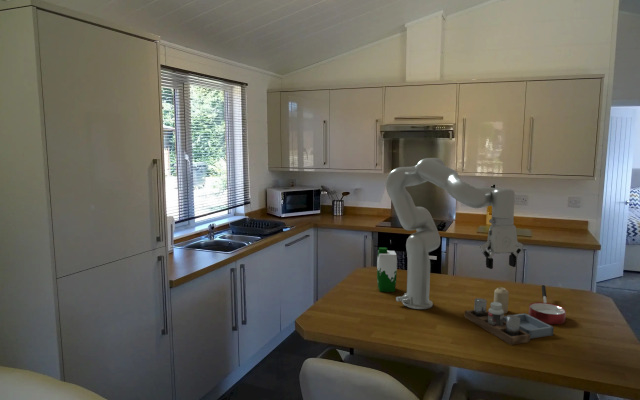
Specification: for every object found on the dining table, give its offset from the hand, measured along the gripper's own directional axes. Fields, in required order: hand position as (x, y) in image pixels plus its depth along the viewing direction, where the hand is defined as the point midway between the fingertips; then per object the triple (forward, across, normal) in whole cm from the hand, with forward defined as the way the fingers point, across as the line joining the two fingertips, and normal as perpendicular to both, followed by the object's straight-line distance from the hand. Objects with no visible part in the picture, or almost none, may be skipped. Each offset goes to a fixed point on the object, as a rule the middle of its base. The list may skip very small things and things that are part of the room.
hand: (500, 267), depth 168 cm
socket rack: (+23, -2, -1) cm, 23 cm away
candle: (+23, +10, +14) cm, 29 cm away
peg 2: (+23, -2, -10) cm, 26 cm away
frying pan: (+24, +29, +12) cm, 39 cm away
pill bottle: (+23, -2, -1) cm, 24 cm away
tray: (+23, +9, -4) cm, 25 cm away
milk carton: (+22, -26, +50) cm, 60 cm away
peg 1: (+23, -3, +8) cm, 24 cm away
